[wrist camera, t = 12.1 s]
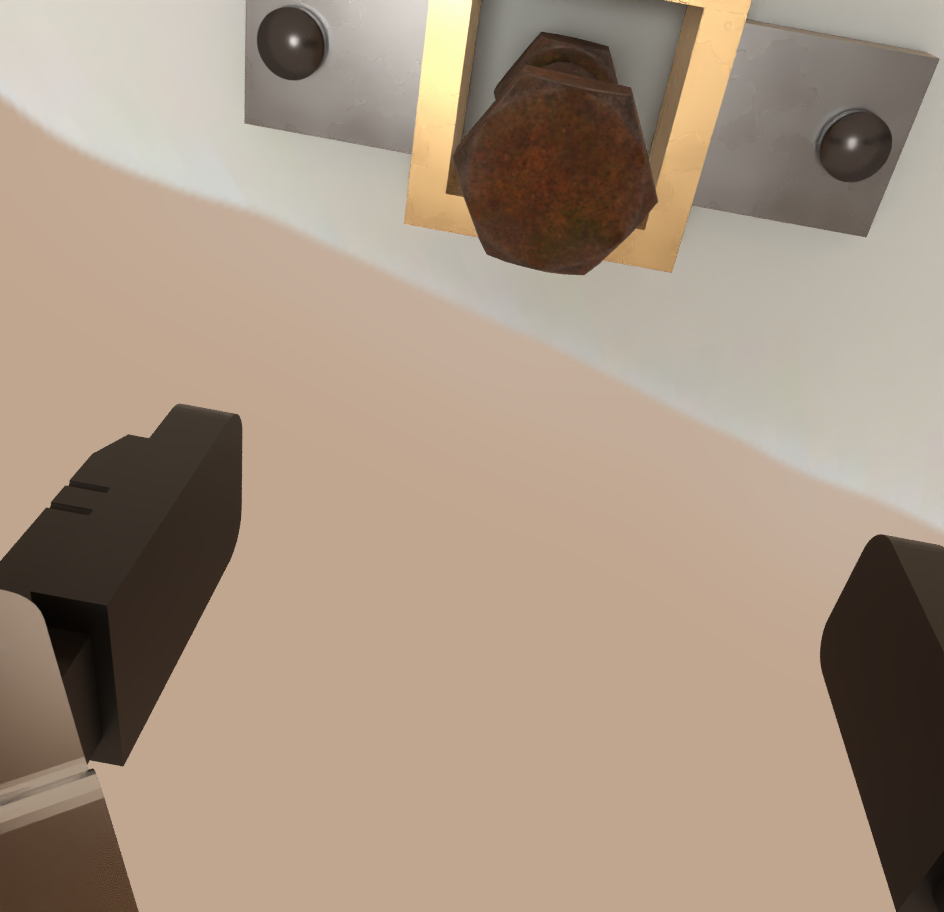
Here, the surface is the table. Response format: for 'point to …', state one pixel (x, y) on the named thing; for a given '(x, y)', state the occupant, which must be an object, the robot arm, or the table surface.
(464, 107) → the square wooden frame
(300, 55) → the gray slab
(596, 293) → the table surface
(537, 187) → the bolt
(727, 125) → the gray knob plate
